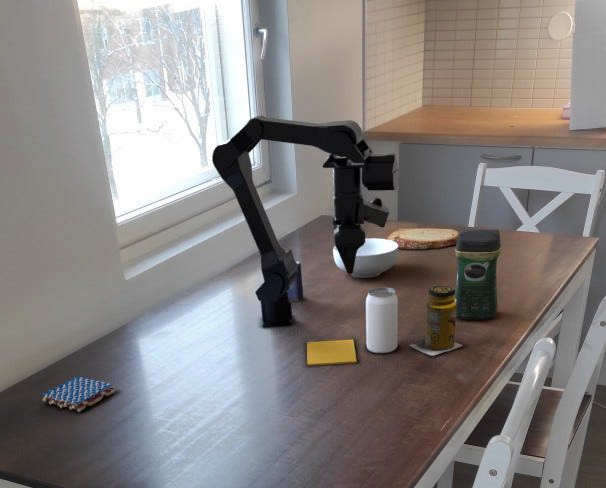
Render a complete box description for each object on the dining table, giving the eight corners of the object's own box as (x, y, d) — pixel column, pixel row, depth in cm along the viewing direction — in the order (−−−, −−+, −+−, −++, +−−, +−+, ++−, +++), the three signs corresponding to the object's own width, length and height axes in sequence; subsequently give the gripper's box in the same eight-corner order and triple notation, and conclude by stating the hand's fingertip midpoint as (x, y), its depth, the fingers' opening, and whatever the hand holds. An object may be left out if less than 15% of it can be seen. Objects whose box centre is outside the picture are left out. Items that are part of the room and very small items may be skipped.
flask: (266, 299, 200) (262, 255, 194) (270, 295, 202) (267, 252, 196) (301, 301, 197) (298, 256, 191) (305, 297, 200) (302, 253, 193)
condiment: (463, 346, 168) (466, 288, 161) (432, 356, 164) (433, 298, 157) (439, 336, 173) (441, 280, 166) (409, 346, 169) (409, 290, 162)
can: (364, 343, 172) (363, 287, 165) (394, 341, 172) (394, 285, 165) (369, 355, 167) (368, 298, 160) (400, 352, 167) (400, 295, 160)
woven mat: (80, 413, 152) (77, 404, 151) (41, 403, 157) (38, 394, 156) (117, 392, 159) (115, 382, 158) (79, 383, 164) (77, 374, 163)
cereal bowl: (409, 267, 214) (409, 240, 210) (379, 286, 203) (379, 258, 198) (353, 261, 222) (353, 234, 218) (322, 279, 211) (320, 251, 207)
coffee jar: (497, 309, 184) (504, 225, 173) (494, 322, 178) (501, 235, 167) (455, 308, 186) (458, 225, 176) (450, 320, 180) (454, 234, 169)
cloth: (307, 365, 164) (307, 364, 164) (307, 343, 174) (307, 342, 174) (356, 362, 164) (356, 361, 164) (353, 341, 174) (353, 339, 174)
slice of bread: (466, 239, 232) (467, 226, 230) (429, 255, 222) (429, 241, 219) (416, 231, 242) (416, 218, 240) (378, 246, 232) (378, 232, 230)
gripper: (390, 198, 157) (390, 278, 166) (383, 178, 173) (383, 252, 182) (333, 201, 158) (336, 281, 167) (331, 181, 173) (333, 255, 182)
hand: (349, 267), depth 174 cm, fingers open, 9 cm apart
